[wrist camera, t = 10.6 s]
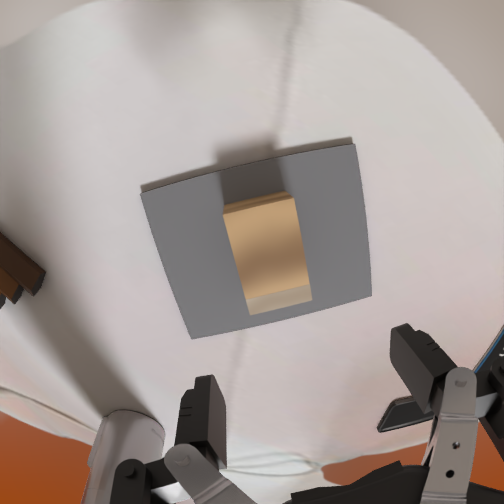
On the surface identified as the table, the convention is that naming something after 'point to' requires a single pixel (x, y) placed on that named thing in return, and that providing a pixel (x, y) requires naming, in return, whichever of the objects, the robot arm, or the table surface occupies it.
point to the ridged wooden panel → (17, 272)
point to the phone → (403, 415)
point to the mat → (219, 248)
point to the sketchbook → (492, 353)
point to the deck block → (268, 251)
